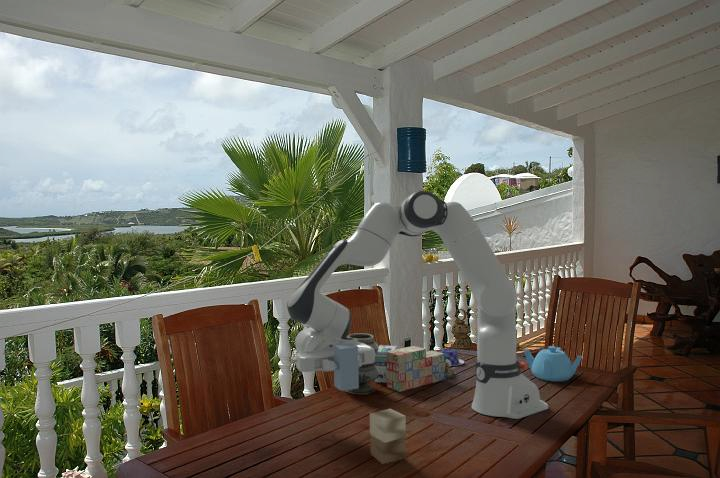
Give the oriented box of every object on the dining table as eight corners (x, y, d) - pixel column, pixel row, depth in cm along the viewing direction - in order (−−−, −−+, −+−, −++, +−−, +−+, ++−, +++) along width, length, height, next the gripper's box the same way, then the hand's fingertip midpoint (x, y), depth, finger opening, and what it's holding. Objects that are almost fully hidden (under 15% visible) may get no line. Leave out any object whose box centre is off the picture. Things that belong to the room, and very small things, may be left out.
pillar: (351, 383, 137) (350, 343, 136) (358, 388, 133) (358, 346, 132) (334, 385, 135) (333, 345, 134) (341, 391, 131) (340, 348, 130)
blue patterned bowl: (429, 365, 213) (429, 352, 213) (437, 358, 224) (437, 345, 224) (460, 368, 208) (460, 354, 208) (467, 361, 219) (467, 348, 219)
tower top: (390, 429, 134) (390, 408, 134) (405, 437, 129) (405, 415, 129) (369, 434, 131) (369, 413, 130) (384, 442, 125) (384, 421, 125)
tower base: (393, 449, 134) (393, 429, 134) (405, 459, 128) (405, 438, 128) (370, 454, 131) (370, 433, 131) (382, 464, 126) (382, 442, 126)
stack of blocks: (432, 376, 197) (432, 341, 196) (445, 380, 192) (445, 344, 191) (386, 387, 184) (386, 350, 183) (398, 392, 179) (398, 354, 178)
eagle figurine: (427, 369, 201) (434, 371, 192) (436, 352, 203) (444, 353, 194) (444, 380, 202) (453, 382, 193) (453, 363, 203) (462, 364, 194)
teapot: (585, 381, 189) (585, 350, 189) (545, 384, 186) (545, 352, 186) (559, 370, 204) (559, 341, 204) (522, 372, 201) (522, 343, 201)
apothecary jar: (366, 398, 173) (366, 340, 172) (334, 392, 179) (334, 336, 179) (385, 388, 183) (385, 334, 182) (354, 383, 189) (354, 330, 189)
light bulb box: (394, 383, 188) (394, 352, 188) (374, 382, 190) (374, 351, 189) (398, 375, 199) (398, 345, 198) (379, 374, 200) (379, 344, 200)
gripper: (288, 345, 141) (306, 357, 128) (360, 337, 149) (384, 347, 137) (288, 370, 141) (306, 384, 128) (361, 360, 150) (385, 373, 137)
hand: (347, 365), depth 133 cm, fingers closed on pillar, 4 cm apart
